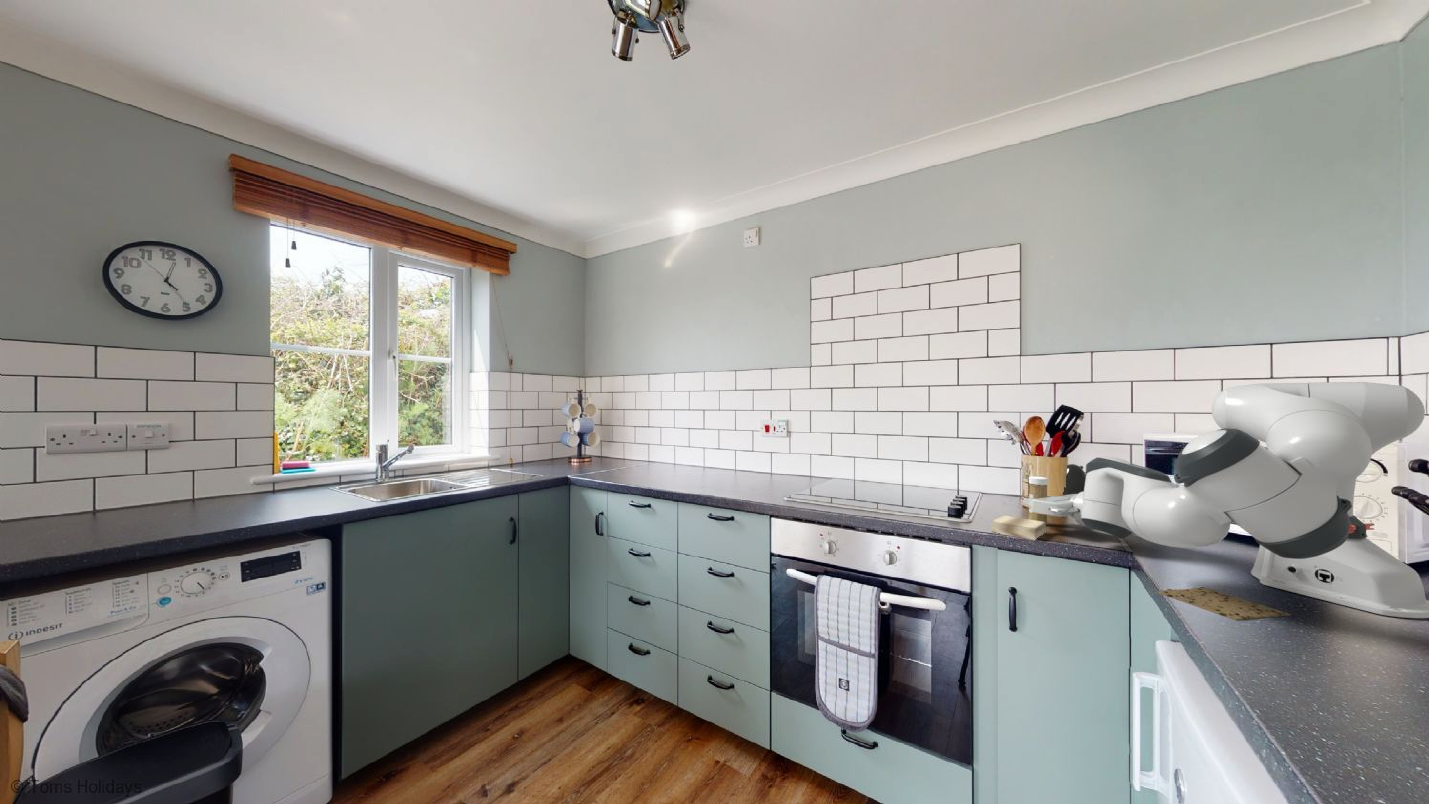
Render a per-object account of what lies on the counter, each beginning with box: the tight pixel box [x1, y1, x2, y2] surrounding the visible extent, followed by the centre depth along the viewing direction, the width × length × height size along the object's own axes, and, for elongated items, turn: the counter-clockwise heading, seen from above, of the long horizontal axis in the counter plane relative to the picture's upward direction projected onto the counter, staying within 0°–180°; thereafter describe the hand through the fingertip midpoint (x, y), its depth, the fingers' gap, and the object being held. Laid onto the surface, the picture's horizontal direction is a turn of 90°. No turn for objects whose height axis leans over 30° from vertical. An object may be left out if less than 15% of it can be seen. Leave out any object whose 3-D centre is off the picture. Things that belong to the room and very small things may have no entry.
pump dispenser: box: [1063, 463, 1086, 495], centre depth 157 cm, size 10×10×15 cm
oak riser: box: [991, 514, 1047, 541], centre depth 130 cm, size 10×10×3 cm
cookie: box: [1157, 586, 1291, 622], centre depth 85 cm, size 12×12×1 cm
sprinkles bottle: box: [1028, 476, 1049, 526], centre depth 140 cm, size 5×5×13 cm
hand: (1035, 499), depth 140 cm, fingers open, 8 cm apart
